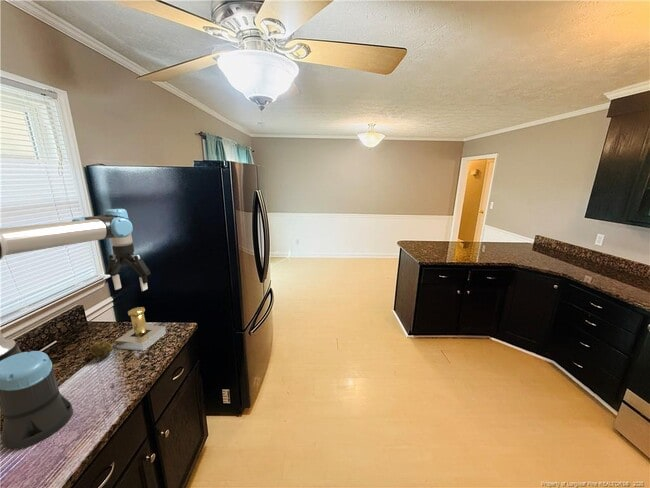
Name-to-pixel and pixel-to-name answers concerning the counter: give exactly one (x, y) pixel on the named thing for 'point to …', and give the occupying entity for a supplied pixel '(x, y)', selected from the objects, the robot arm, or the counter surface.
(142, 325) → the gold tall flared cylinder
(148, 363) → the counter surface
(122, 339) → the housing
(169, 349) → the counter surface
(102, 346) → the potato
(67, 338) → the counter surface
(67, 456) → the counter surface
